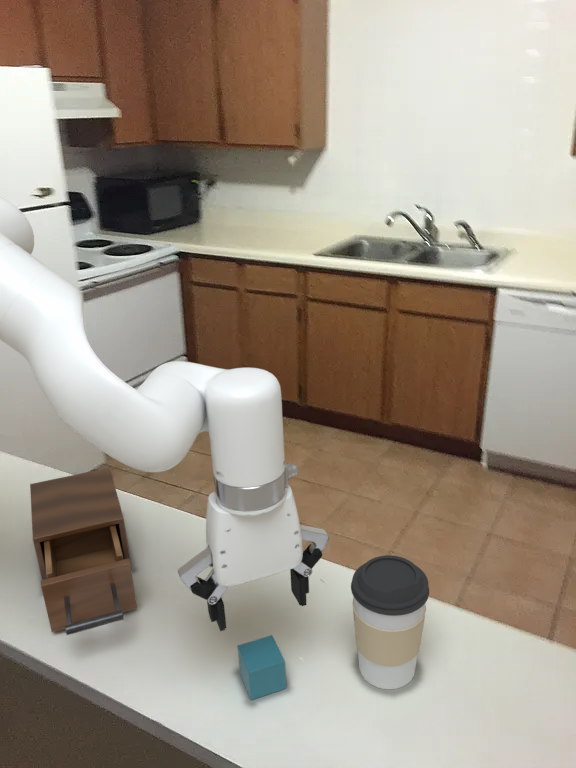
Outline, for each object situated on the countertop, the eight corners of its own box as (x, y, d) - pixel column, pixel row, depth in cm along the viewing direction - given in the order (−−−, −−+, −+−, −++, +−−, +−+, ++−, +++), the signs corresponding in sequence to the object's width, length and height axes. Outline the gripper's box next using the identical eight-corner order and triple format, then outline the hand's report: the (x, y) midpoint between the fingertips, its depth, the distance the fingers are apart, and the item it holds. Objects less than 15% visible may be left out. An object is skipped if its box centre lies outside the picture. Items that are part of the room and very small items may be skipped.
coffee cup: (338, 651, 86) (338, 557, 79) (401, 631, 88) (405, 538, 82) (371, 707, 78) (373, 606, 72) (438, 683, 81) (446, 584, 75)
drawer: (145, 641, 87) (138, 594, 84) (54, 668, 83) (43, 620, 80) (122, 548, 105) (115, 506, 102) (46, 566, 102) (37, 524, 98)
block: (250, 700, 79) (248, 672, 77) (239, 672, 83) (237, 645, 81) (286, 688, 81) (285, 661, 79) (273, 661, 84) (272, 634, 83)
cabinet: (131, 570, 101) (123, 517, 98) (45, 593, 98) (32, 539, 94) (117, 515, 115) (109, 467, 111) (40, 533, 111) (30, 483, 107)
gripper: (312, 450, 76) (316, 570, 83) (162, 485, 71) (179, 610, 78) (340, 482, 70) (341, 610, 77) (177, 523, 64) (194, 656, 71)
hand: (260, 610), depth 77 cm, fingers open, 9 cm apart
